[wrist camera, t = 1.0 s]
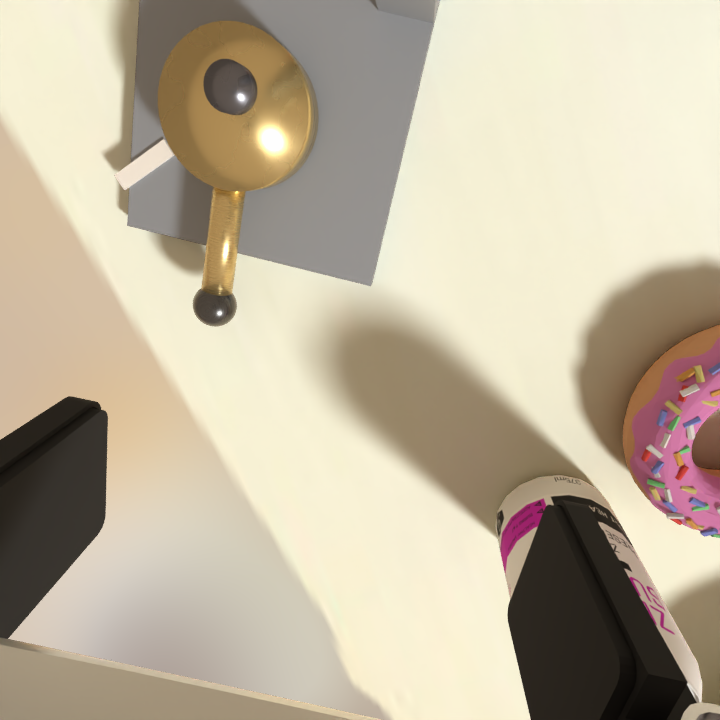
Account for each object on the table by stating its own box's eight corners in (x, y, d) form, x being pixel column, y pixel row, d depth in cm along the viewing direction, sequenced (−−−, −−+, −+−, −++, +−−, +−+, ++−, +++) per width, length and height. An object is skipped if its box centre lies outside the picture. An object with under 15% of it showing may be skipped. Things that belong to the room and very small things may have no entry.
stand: (143, -168, 27) (-92, -452, 14) (462, -94, 26) (499, -319, 14) (123, 220, 34) (-44, 252, 22) (372, 282, 34) (345, 349, 21)
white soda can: (510, 570, 41) (557, 782, 27) (481, 484, 38) (517, 668, 24) (617, 548, 39) (728, 763, 25) (595, 457, 36) (703, 638, 22)
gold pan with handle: (189, 19, 28) (153, -4, 24) (331, 53, 28) (317, 36, 24) (165, 301, 34) (132, 319, 30) (281, 331, 34) (264, 352, 30)
